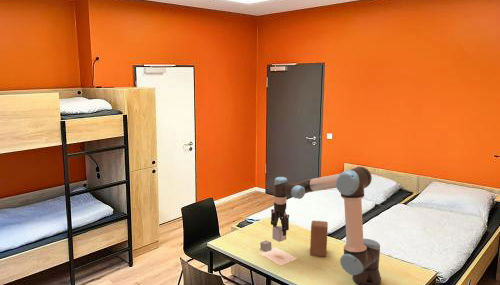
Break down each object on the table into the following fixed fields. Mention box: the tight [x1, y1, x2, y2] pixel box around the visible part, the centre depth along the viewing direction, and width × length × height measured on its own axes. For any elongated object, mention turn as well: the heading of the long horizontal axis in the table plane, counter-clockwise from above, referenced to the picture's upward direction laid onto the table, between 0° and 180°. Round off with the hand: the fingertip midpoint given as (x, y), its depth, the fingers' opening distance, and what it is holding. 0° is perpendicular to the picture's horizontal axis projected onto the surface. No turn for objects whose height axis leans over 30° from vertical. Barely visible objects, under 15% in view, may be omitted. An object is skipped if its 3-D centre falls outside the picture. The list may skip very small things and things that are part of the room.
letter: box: [258, 246, 298, 266], centre depth 239 cm, size 20×14×1 cm
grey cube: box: [259, 240, 273, 252], centre depth 247 cm, size 5×5×5 cm
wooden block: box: [309, 220, 329, 258], centre depth 242 cm, size 10×10×20 cm
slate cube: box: [271, 225, 287, 243], centre depth 236 cm, size 6×6×7 cm
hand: (279, 238), depth 236 cm, fingers closed on slate cube, 6 cm apart
